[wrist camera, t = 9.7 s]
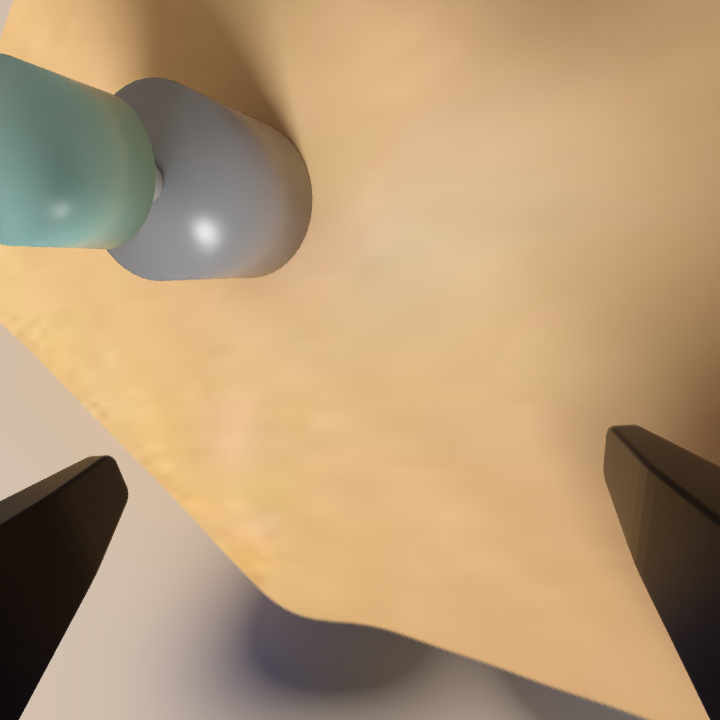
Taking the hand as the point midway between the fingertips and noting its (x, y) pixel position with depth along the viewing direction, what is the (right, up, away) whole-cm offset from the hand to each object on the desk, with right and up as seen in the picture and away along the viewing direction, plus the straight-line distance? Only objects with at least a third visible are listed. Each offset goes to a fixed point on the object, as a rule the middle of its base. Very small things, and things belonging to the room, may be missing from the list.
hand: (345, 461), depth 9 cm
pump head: (-8, +9, +9) cm, 15 cm away
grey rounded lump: (-5, +9, +14) cm, 18 cm away
